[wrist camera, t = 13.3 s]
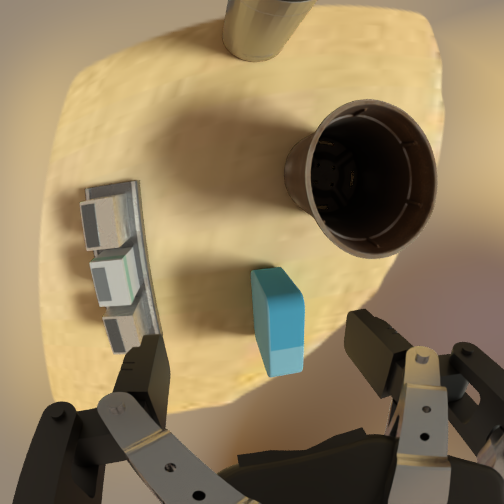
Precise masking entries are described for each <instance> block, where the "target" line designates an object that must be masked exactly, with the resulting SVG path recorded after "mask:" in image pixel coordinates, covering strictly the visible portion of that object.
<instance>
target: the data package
mask: <svg viewBox="0 0 504 504" xmlns="http://www.w3.org/2000/svg"><path fill="white" fill-rule="evenodd" d="M251 288H252V302H253V316H254V330H255V337H256V341H257V344H258V347H259V350H260V353H261V356H262V359H263V362H264V365H265V368H266V371H267V374H268V376H269V377H276V376H281V375H287V374H292V373H297V372H301V371H302V369H303V353H304V318H305V305H304V299H303V295H302V293H301V291H300V290H299V289H298V288H297V286H296V285H295V284H294V283H293V281H292V280H291V279H290V278H289V276H288V275H287V274H286V272H285V271H284V270H283V269H282V268H281V267H276V268H267V269H258V270H252V271H251Z"/></svg>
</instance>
